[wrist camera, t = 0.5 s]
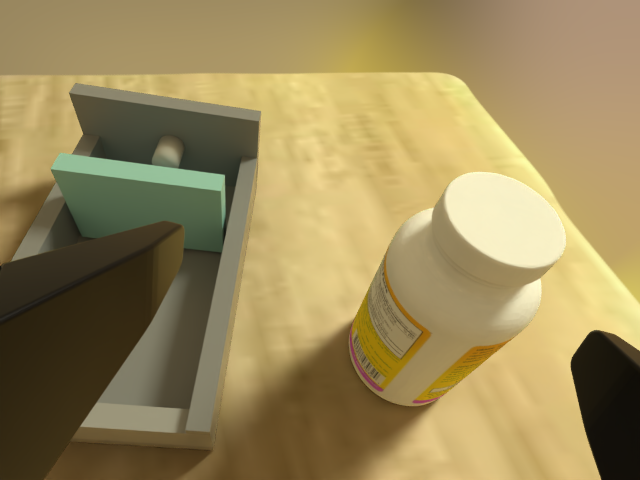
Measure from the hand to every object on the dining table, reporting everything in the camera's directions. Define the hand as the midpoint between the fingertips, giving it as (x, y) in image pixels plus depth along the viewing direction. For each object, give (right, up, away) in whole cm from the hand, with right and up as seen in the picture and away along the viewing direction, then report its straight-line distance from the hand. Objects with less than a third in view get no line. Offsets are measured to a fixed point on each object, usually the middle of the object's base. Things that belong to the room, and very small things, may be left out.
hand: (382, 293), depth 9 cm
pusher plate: (-12, +1, +17) cm, 21 cm away
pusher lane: (-12, -1, +17) cm, 20 cm away
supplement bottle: (+3, -6, +17) cm, 18 cm away
